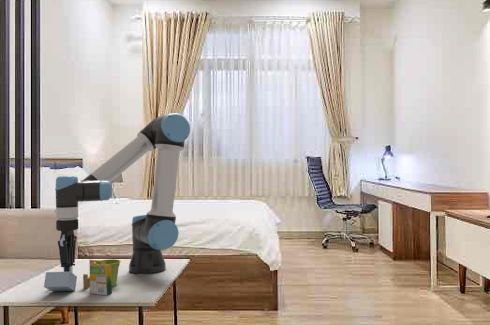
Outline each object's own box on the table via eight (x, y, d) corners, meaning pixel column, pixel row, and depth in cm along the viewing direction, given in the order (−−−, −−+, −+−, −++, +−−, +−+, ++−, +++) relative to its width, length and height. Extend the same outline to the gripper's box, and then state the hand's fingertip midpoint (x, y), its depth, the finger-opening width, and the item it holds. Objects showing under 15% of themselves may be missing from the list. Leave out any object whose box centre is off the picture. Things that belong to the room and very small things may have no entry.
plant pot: (126, 283, 183) (125, 259, 183) (111, 289, 174) (111, 264, 174) (105, 281, 186) (104, 258, 186) (89, 287, 177) (88, 263, 178)
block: (75, 290, 173) (76, 276, 175) (67, 286, 166) (69, 271, 168) (52, 291, 173) (54, 277, 175) (43, 286, 166) (45, 272, 168)
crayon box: (112, 293, 168) (111, 259, 168) (106, 295, 165) (105, 260, 166) (95, 291, 171) (94, 258, 171) (89, 293, 169) (88, 259, 169)
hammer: (99, 280, 189) (98, 267, 189) (87, 288, 176) (86, 274, 176) (63, 281, 190) (63, 268, 190) (48, 289, 176) (48, 275, 176)
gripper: (63, 217, 183) (64, 280, 183) (49, 221, 170) (50, 289, 170) (83, 217, 183) (84, 280, 183) (71, 220, 170) (72, 289, 170)
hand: (68, 284), depth 177 cm, fingers closed
